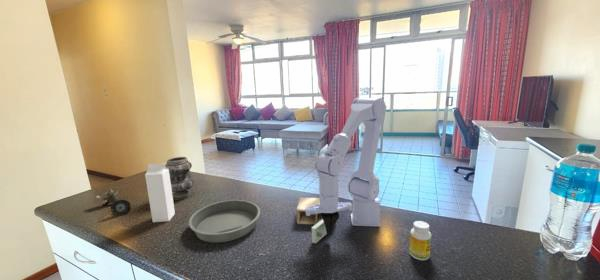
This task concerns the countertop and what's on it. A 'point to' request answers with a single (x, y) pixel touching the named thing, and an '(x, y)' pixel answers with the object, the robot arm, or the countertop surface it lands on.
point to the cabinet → (301, 211)
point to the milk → (159, 192)
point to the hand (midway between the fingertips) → (329, 233)
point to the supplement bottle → (420, 241)
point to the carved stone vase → (180, 177)
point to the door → (318, 231)
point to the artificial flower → (116, 203)
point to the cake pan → (224, 220)
